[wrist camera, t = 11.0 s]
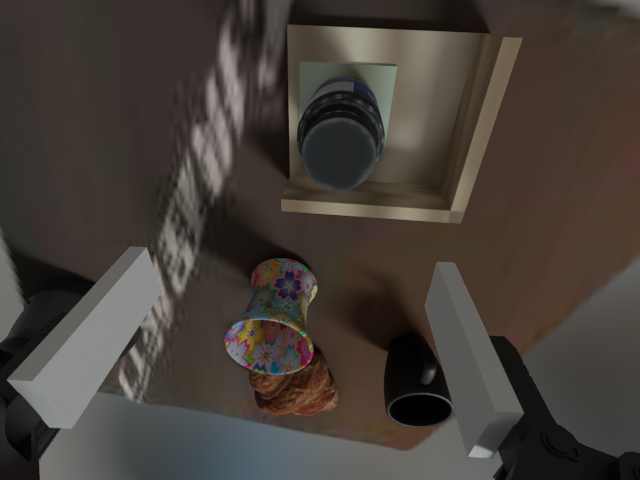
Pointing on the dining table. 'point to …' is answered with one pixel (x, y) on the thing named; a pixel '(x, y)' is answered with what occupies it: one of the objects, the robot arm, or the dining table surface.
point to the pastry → (297, 389)
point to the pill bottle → (341, 134)
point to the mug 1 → (275, 319)
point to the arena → (403, 115)
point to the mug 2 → (415, 384)
